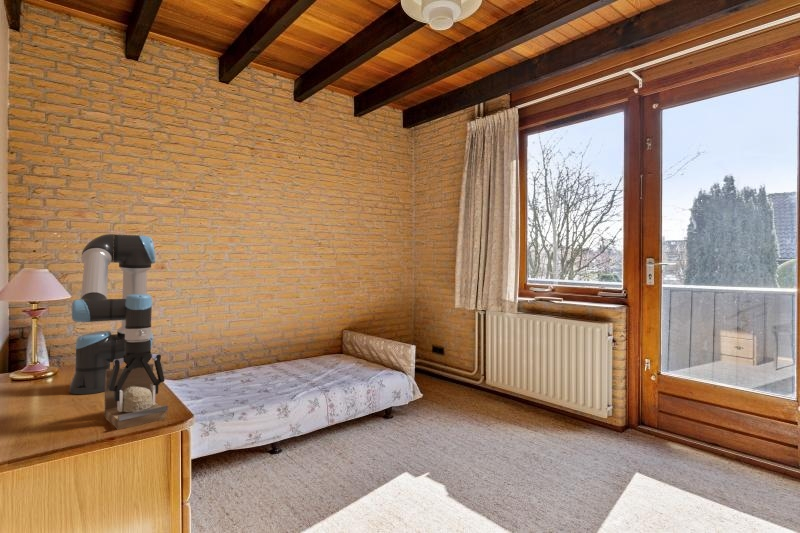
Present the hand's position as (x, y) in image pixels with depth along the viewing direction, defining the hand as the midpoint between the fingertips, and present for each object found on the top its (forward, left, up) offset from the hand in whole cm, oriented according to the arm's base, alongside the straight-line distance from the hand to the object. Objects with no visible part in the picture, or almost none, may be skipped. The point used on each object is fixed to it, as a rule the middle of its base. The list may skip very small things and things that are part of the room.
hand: (136, 407), depth 141 cm
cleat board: (-1, 0, -4) cm, 4 cm away
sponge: (0, 0, 0) cm, 0 cm away
